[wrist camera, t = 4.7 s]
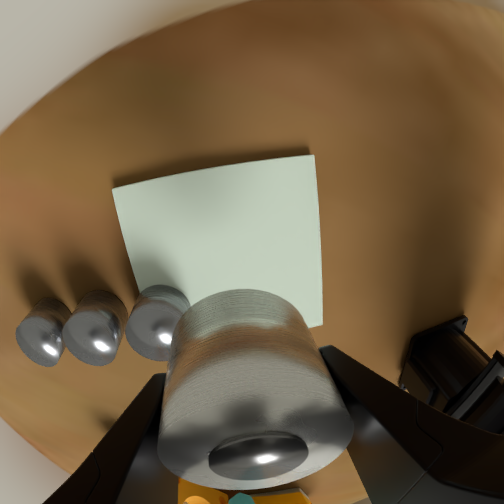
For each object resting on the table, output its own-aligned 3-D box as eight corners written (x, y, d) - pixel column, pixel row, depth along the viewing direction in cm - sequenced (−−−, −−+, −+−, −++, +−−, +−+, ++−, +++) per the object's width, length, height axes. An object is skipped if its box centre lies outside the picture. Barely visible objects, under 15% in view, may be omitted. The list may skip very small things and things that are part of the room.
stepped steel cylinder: (305, 276, 8) (369, 378, 4) (309, 380, 10) (344, 473, 6) (153, 301, 8) (121, 417, 4) (191, 400, 10) (190, 498, 6)
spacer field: (184, 276, 15) (179, 305, 13) (236, 443, 22) (239, 470, 19) (29, 300, 15) (7, 324, 12) (123, 448, 21) (119, 472, 18)
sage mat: (310, 154, 14) (314, 155, 14) (320, 320, 18) (322, 324, 17) (114, 187, 13) (111, 189, 13) (162, 347, 17) (161, 352, 17)
